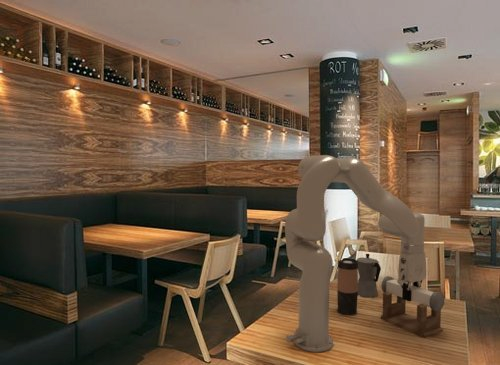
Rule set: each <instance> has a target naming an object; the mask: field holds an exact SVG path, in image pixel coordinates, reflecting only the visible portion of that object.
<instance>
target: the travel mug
mask: <svg viewBox="0 0 500 365" xmlns="http://www.w3.org/2000/svg"><path fill="white" fill-rule="evenodd" d="M358 280H359V273H358V261H357V259H354V258H353V259H352V258H342V259H341V260H340V259H338V260H337V284H336V285H337V289H336V291H337V295H336V296H337V312H338V314H341V315H344V316H354V315H356V314H357V312H358V311H357V310H358V296H359V295H358Z"/></svg>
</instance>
